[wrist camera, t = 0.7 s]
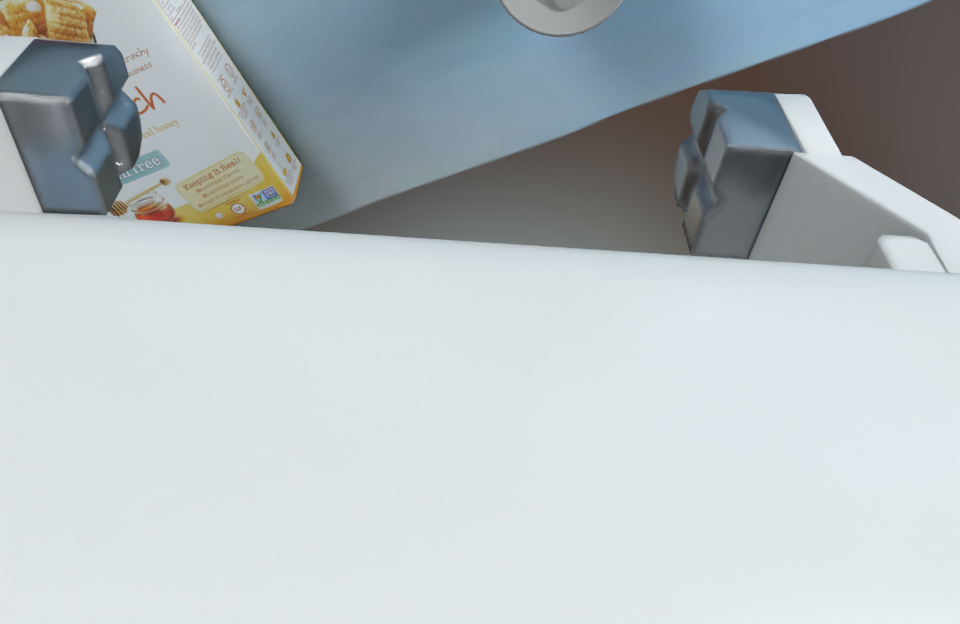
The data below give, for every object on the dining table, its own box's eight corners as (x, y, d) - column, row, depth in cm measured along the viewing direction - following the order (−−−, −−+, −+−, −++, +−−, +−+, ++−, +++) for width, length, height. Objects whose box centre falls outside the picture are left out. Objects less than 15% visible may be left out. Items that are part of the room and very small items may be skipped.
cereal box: (85, 284, 64) (-264, -43, 45) (108, 240, 68) (-205, -77, 49) (299, 205, 58) (0, -204, 40) (310, 162, 62) (42, -227, 44)
